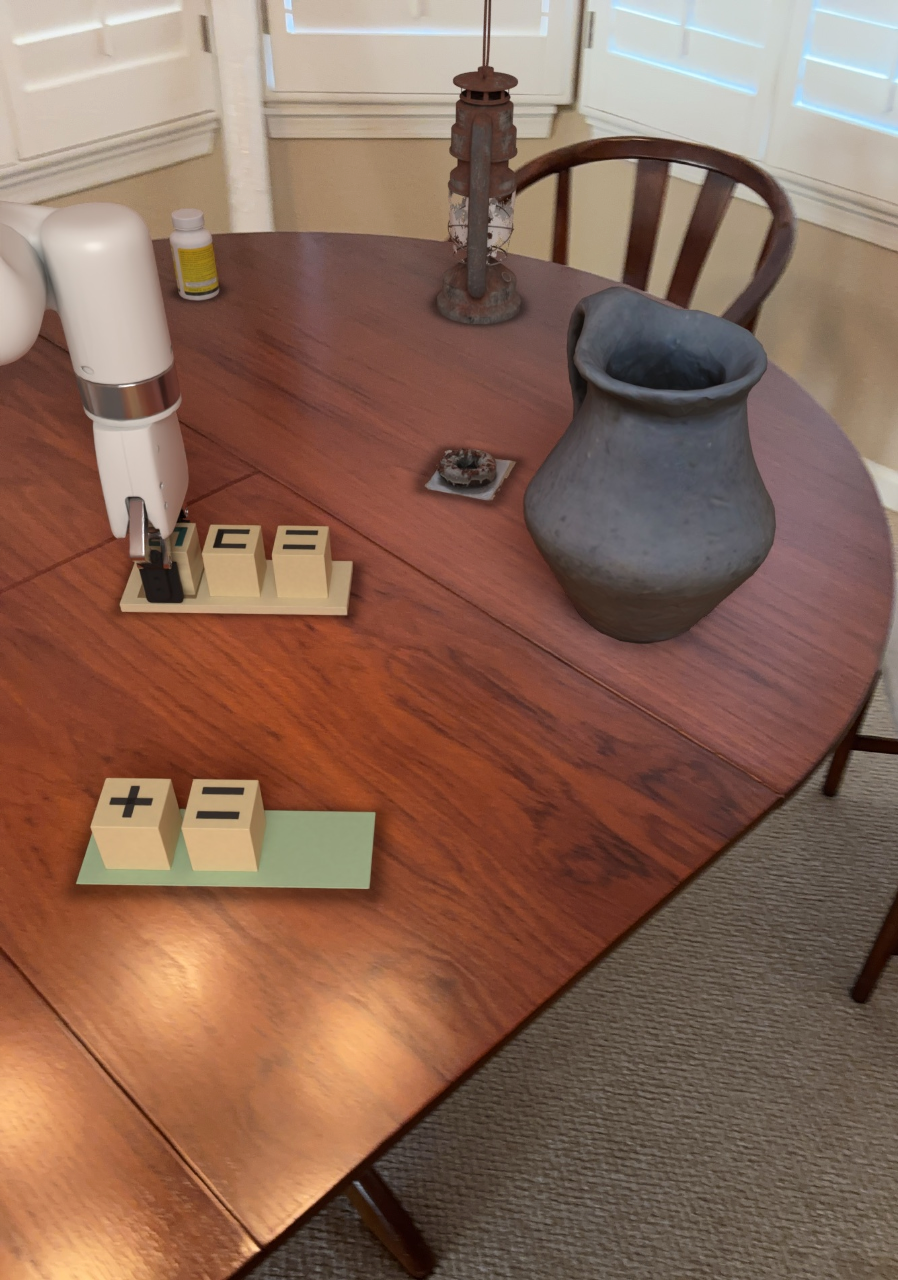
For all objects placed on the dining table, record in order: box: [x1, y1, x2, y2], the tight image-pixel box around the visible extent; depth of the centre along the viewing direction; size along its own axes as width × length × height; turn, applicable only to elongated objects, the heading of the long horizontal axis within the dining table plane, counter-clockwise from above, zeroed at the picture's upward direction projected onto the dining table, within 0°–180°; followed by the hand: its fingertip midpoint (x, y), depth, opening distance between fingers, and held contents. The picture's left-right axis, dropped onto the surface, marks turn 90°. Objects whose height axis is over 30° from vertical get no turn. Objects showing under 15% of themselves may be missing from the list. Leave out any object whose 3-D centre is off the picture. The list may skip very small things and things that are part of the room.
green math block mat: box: [75, 777, 376, 890], centre depth 73 cm, size 20×7×6 cm, turn 89°
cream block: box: [139, 522, 204, 595], centre depth 93 cm, size 4×4×5 cm
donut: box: [424, 447, 517, 502], centre depth 108 cm, size 8×8×2 cm
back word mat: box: [119, 524, 354, 616], centre depth 94 cm, size 20×7×6 cm, turn 89°
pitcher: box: [522, 286, 777, 645], centre depth 86 cm, size 21×22×25 cm
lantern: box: [436, 0, 522, 325], centre depth 125 cm, size 11×16×35 cm
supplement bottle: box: [169, 207, 220, 301], centre depth 136 cm, size 5×5×10 cm
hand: (172, 577), depth 95 cm, fingers open, 5 cm apart
